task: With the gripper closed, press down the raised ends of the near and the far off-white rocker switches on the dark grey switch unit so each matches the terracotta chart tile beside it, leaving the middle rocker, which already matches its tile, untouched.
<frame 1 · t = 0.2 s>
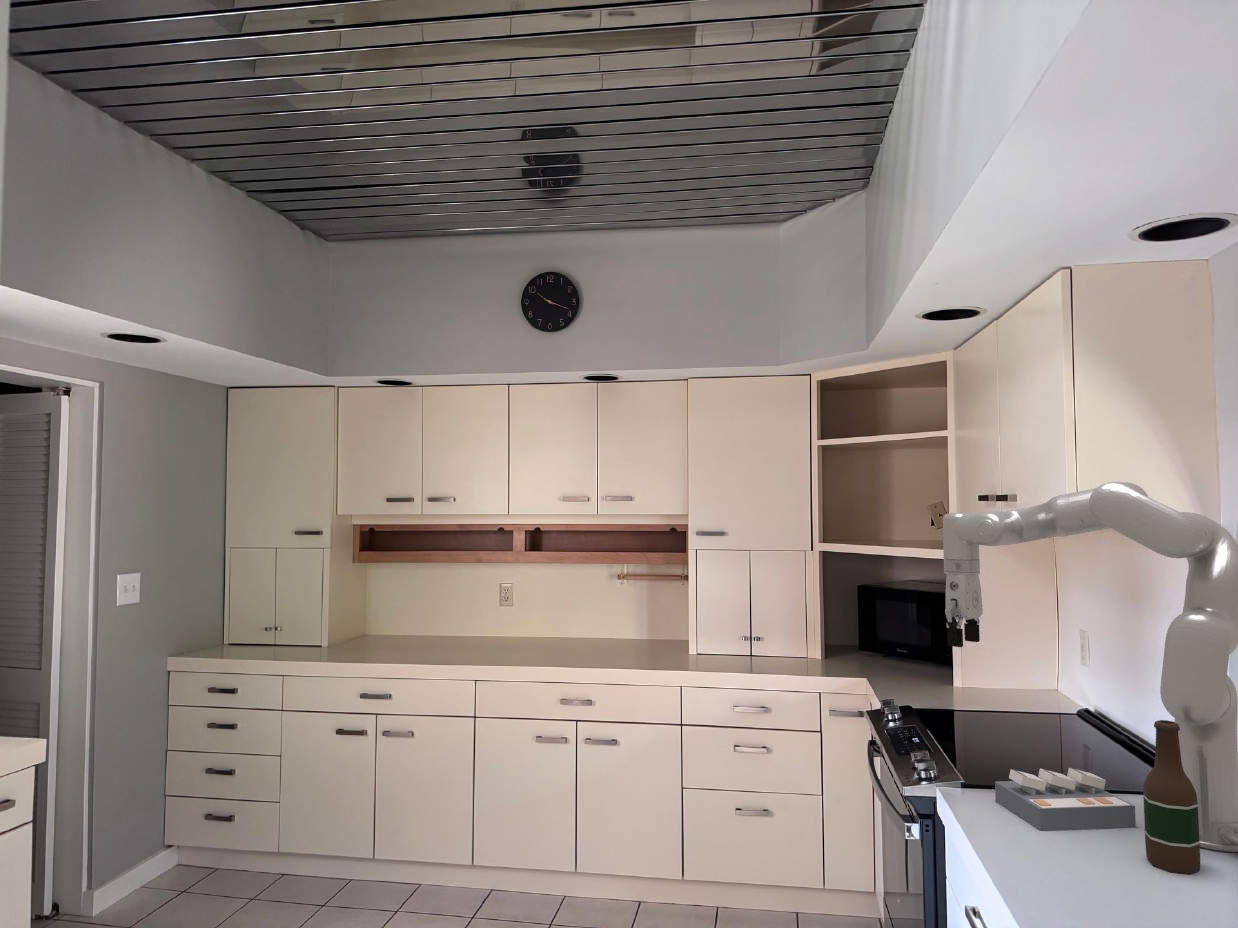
hand: (963, 643, 184), 31 cm above the worktop, tool pointing down, fingers open, 9 cm apart
rocker far: (1027, 779, 165), point 6 cm above the worktop, hinge at 15.0°
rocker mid: (1056, 778, 166), point 6 cm above the worktop, hinge at 15.0°
beer bottle: (1173, 866, 139), on the worktop
switch unit: (1062, 813, 164), on the worktop
rocker near: (1086, 777, 166), point 6 cm above the worktop, hinge at 15.0°
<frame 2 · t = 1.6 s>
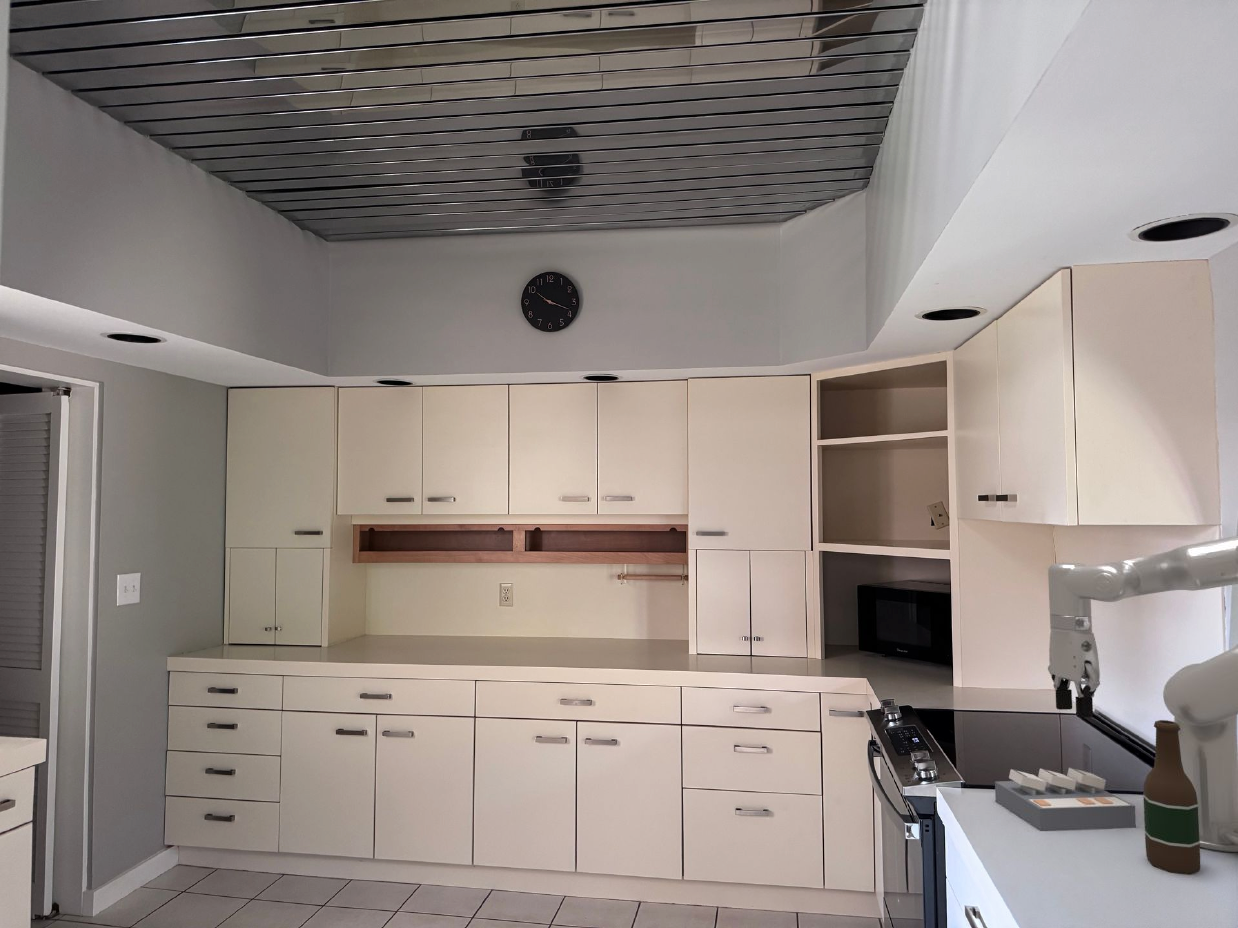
hand: (1074, 711, 167), 20 cm above the worktop, tool pointing down, fingers open, 5 cm apart
nothing on the worktop moved.
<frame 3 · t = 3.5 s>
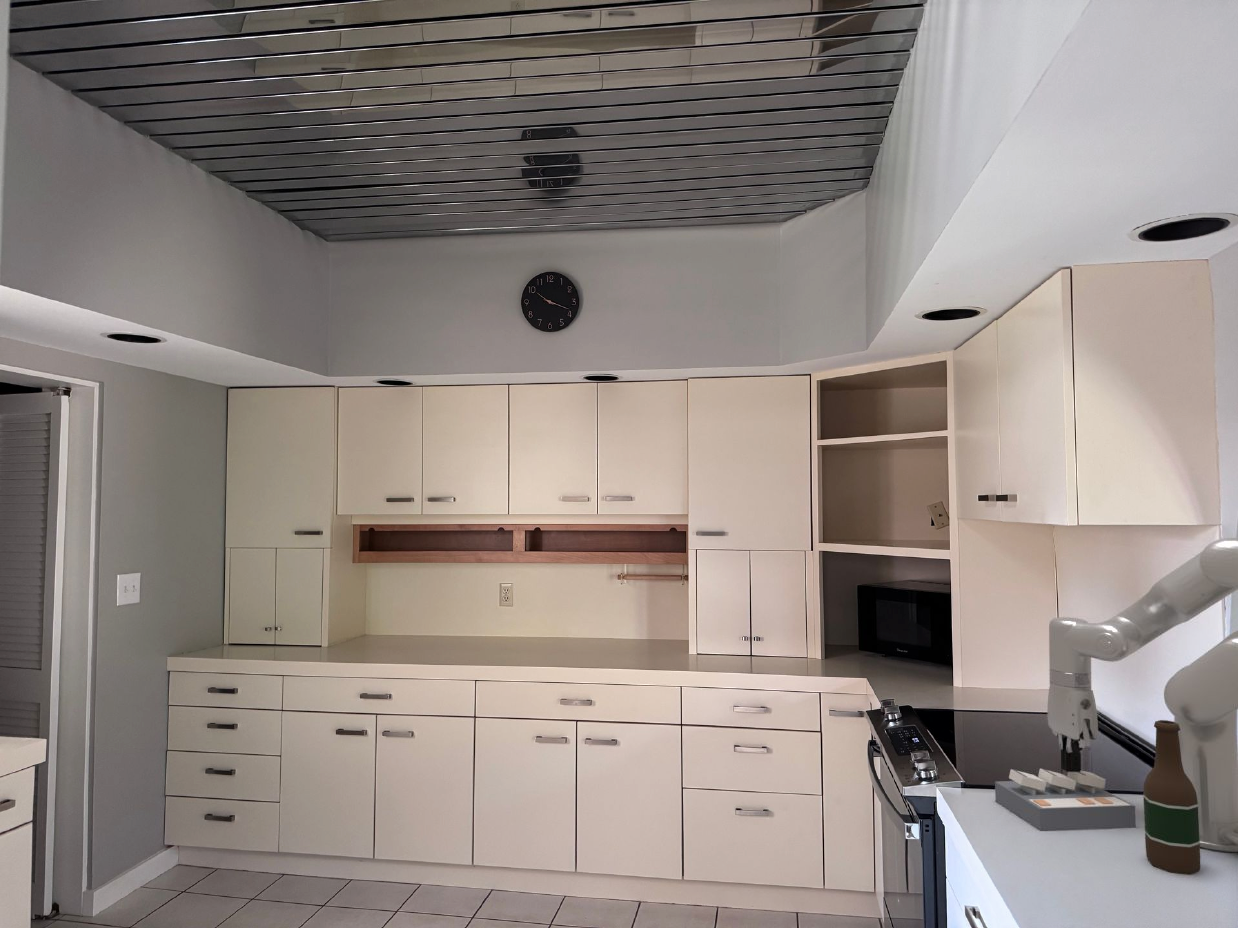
hand: (1071, 770, 166), 8 cm above the worktop, tool pointing down, fingers closed
rocker near: (1086, 777, 166), point 6 cm above the worktop, hinge at 12.3°, touching gripper
everything else where it was.
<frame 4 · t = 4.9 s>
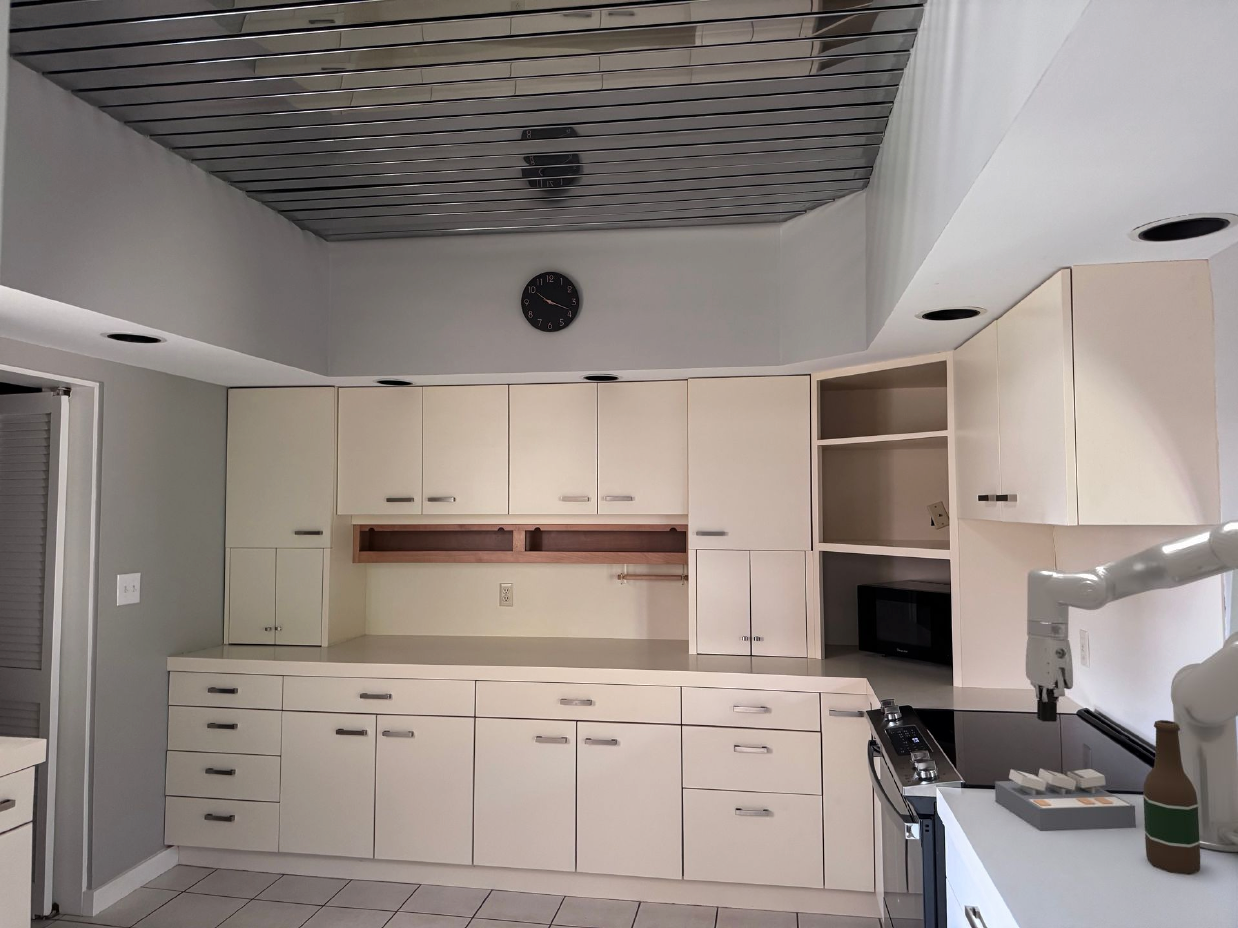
hand: (1046, 720, 167), 18 cm above the worktop, tool pointing down, fingers closed
rocker near: (1086, 777, 166), point 6 cm above the worktop, hinge at -5.5°
everything else where it was.
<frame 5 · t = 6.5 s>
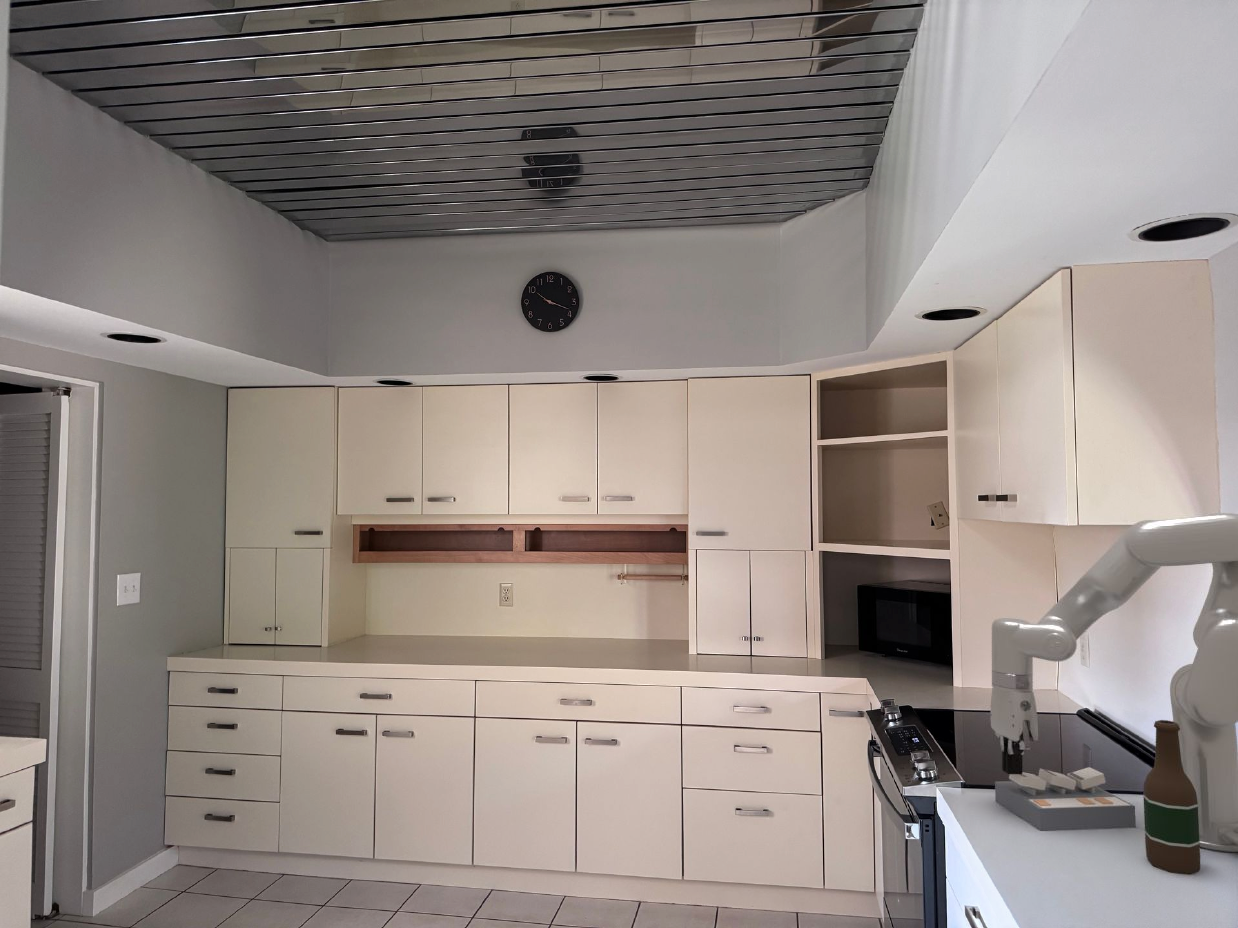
hand: (1012, 772, 165), 8 cm above the worktop, tool pointing down, fingers closed
rocker far: (1027, 779, 165), point 6 cm above the worktop, hinge at 12.4°, touching gripper
rocker near: (1086, 777, 166), point 6 cm above the worktop, hinge at -14.5°
everything else where it was.
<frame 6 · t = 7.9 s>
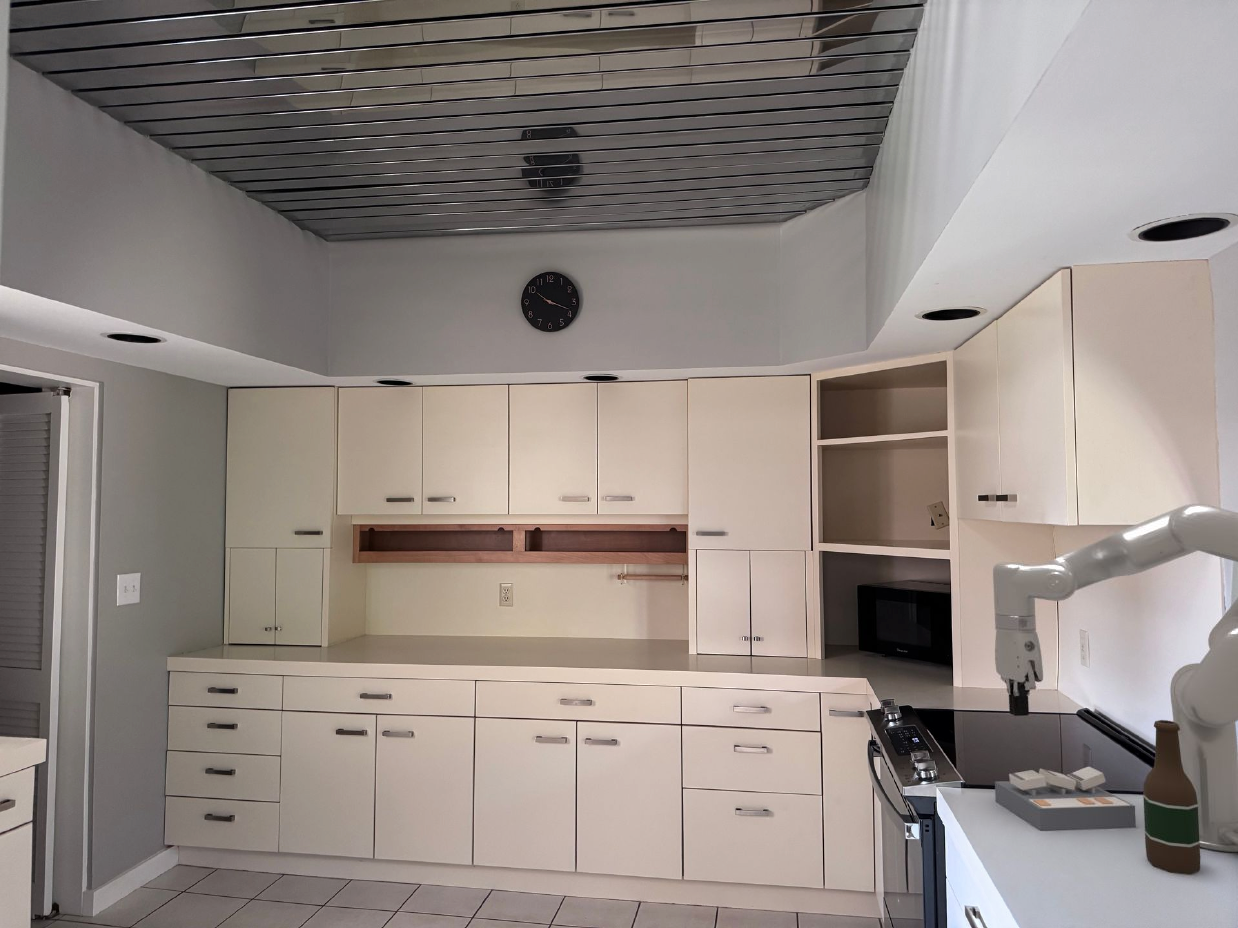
hand: (1019, 714, 166), 19 cm above the worktop, tool pointing down, fingers closed
rocker far: (1027, 779, 165), point 6 cm above the worktop, hinge at -7.8°
rocker near: (1086, 777, 166), point 6 cm above the worktop, hinge at -18.1°
everything else where it was.
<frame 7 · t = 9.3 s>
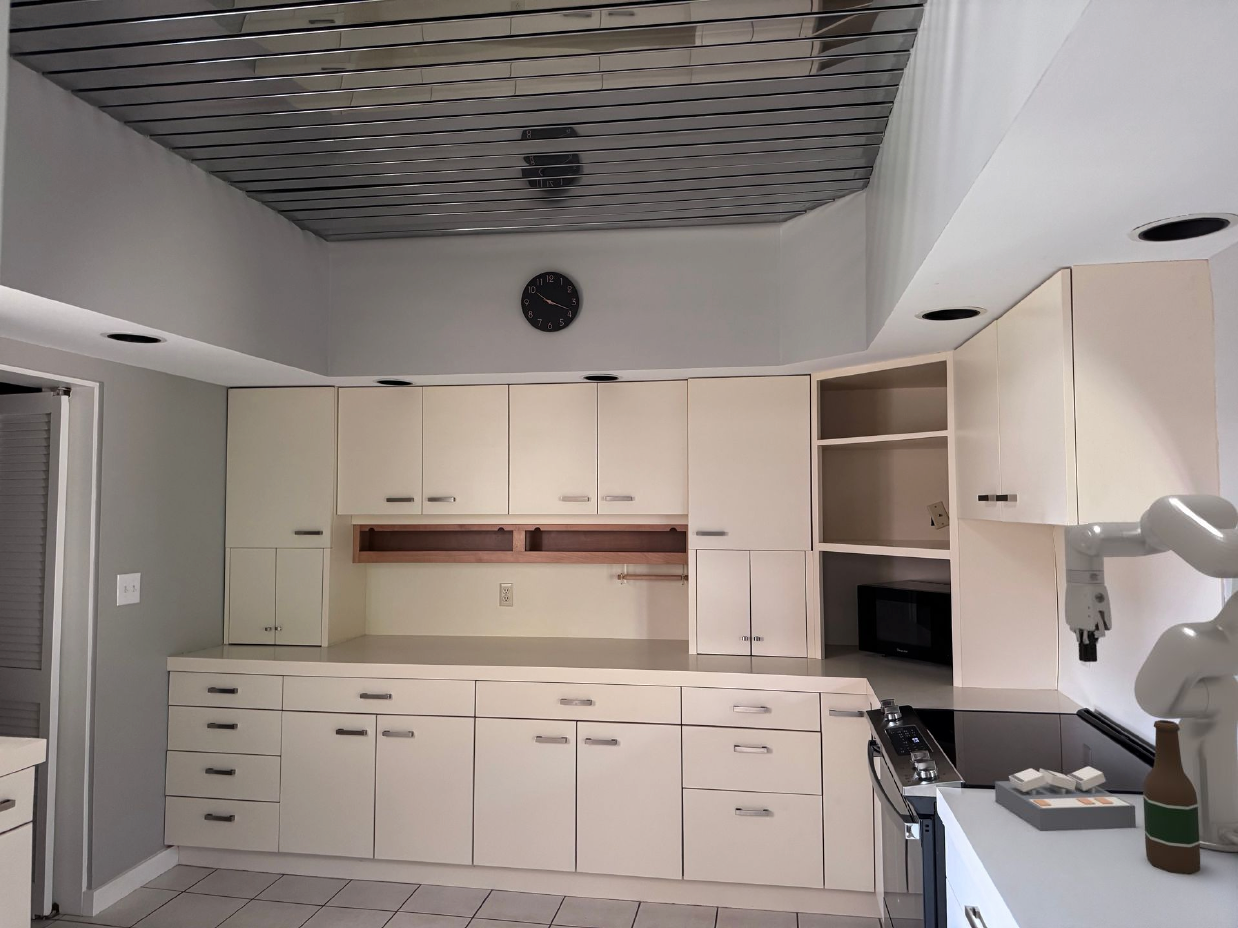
hand: (1088, 660, 182), 27 cm above the worktop, tool pointing down, fingers closed
rocker far: (1027, 779, 165), point 6 cm above the worktop, hinge at -17.2°
rocker near: (1086, 777, 166), point 6 cm above the worktop, hinge at -20.0°
everything else where it was.
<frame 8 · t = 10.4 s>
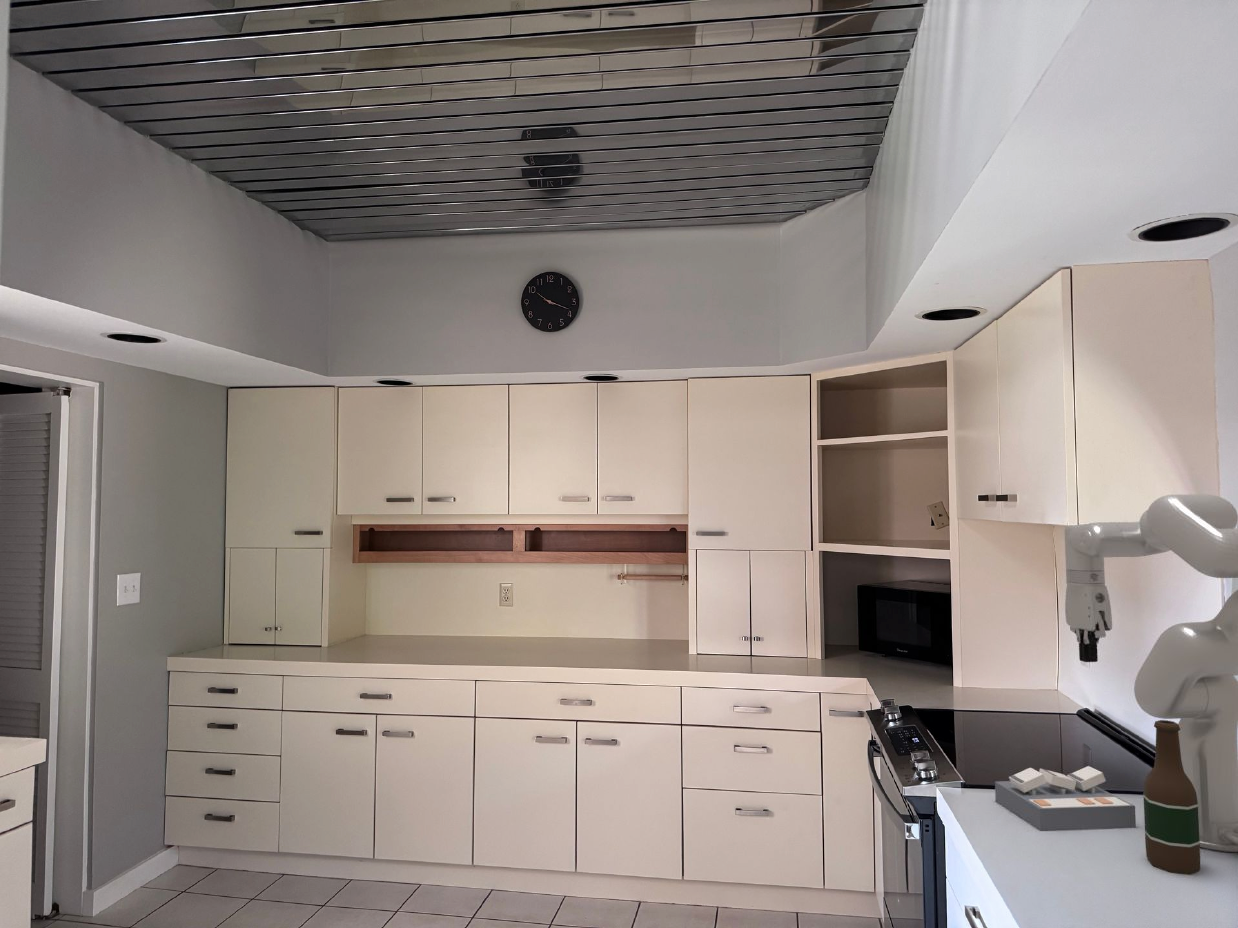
hand: (1088, 661, 182), 27 cm above the worktop, tool pointing down, fingers closed
rocker far: (1027, 779, 165), point 6 cm above the worktop, hinge at -21.1°
rocker near: (1086, 777, 166), point 6 cm above the worktop, hinge at -20.7°
everything else where it was.
at the end: rocker near at -21° (first picture: +15°); rocker far at -22° (first picture: +15°); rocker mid at +15° (first picture: +15°) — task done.
